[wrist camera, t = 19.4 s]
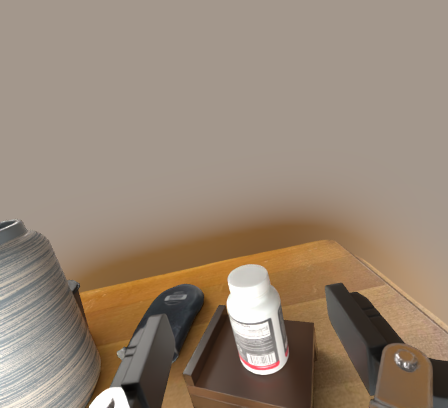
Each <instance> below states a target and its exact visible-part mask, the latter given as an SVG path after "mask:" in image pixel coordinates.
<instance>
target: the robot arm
mask: <svg viewBox="0 0 448 408" xmlns="http://www.w3.org/2000/svg"><path fill="white" fill-rule="evenodd" d="M325 293H326V301H327V309H328V315H329V318H330V321H331V324H332V326H333V328H334V330H335V332H336V333H337V335H338V337H339V339H340V341H341V343H342V344H343V346H344V348H345V350H346V352H347V354H348V356H349V357H350V359H351V361H352V363H353V365H354V367H355V369H356V370H357V372H358V374H359V376H360V378H361V380H362V382H363V383H364V385H365V387H366V389H367V391H368V393H369V394H370V396H372V395H374V399H371V401H370V404H369V408H448V361H442V360H435V359H431V358H428V357H427V356H426V355H425V354H424V353H422V352H421V351H420V350H418V349H416V348H414V347H412V346H410V345H407V344H405V343H404V342H403V340H402V339H401V338H400V337H399V336H398V334H397V333H396V332H395V331H394V330H393V329H392V327H391V326H390V325H389V324H388V323H387V321H386V320H385V319H384V318H383V317H382V316H381V315H380V313H379V312H378V311H377V309H376V308H374V306H373V305H372V303H371V302H370V301H369V300H368V299H367V298H366V297H364V296H363V295H361V294H359V293H358V292H352V293H349V291H348V290H347V289H346V287H345V286H344V285H343V284H342V283H337V284H331V285H326V286H325ZM174 352H175V339H174V335H173V332H172V329H171V326H170V324H169V321H168V318H167V315H166V314H159V315H153V316H150V317H149V318H148V321H147V323H146V325H145V328H141V329H140V330H139V331H138V332H137V333H136V334H135V335H134V337H133V338H132V340H131V342H130V344H129V346H128V349H127V351H126V353H125V355H124V358H123V359H122V362H121V364H120V366H119V368H118V370H117V372H116V375H115V377H114V379H113V381H112V383H111V385H110V388H109V389H107V390H105V391H103V392H102V393H101V394H99V395H98V396H97V397H96V398H95V399H94V400H93V402H92V403H91V404H90V406H89V408H161V406H162V402H163V397H164V393H165V389H166V385H167V381H168V377H169V372H170V368H171V364H172V360H173V356H174Z"/></svg>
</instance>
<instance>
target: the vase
mask: <svg viewBox="0 0 448 408" xmlns="http://www.w3.org/2000/svg"><path fill="white" fill-rule="evenodd" d="M100 370H101V358H100V354H99V352H98V349H97V347H96V345H95V343H94V340H93V338H92V336H91V334H90V331H89V329H88V327H87V325H86V322H85V320H84V318H83V316H82V313H81V311H80V309H79V307H78V304H77V302H76V300H75V298H74V295H73V293H72V291H71V289H70V286H69V284H68V282H67V280H66V278H65V275H64V273H63V271H62V268H61V266H60V264H59V262H58V259H57V257H56V255H55V253H54V251H53V248H52V246H51V244H50V242H49V240H48V239H47V238H46V237H45V236H44V235H42V234H40V233H39V232H36V231H33V230H27V229H26V228H25V225H24V223H23V222H22V220H18V219H14V220H7V221H2V222H0V408H85V407H86V405H87V404H88V402H89V400H90V399H91V397H92V394H93V392H94V389H95V386H96V383H97V381H98V378H99V374H100Z"/></svg>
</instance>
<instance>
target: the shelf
mask: <svg viewBox="0 0 448 408" xmlns="http://www.w3.org/2000/svg"><path fill="white" fill-rule="evenodd" d="M284 325H285V330H286V336H287V341H288V347H289V357H288V359H287V361H286V363H285V365H284V366H283V367H282V368H281V369H280V370H279V371H277V372H275V373H272V374H267V375H260V374H255V373H253V372H251V371H249V370H248V369H246V368H245V366H244V365H243V363H242V362H241V359H240V356H239V353H238V349H237V345H236V342H235V338H234V333H233V329H232V325H231V321H230V317H229V315H228V313H227V309H226V306H225V305H219V306H218V308H217V310H216V312H215V313H214V315H213V317H212V319H211V321H210V323H209V325H208V327H207V329H206V330H205V332H204V334H203V336H202V338H201V340H200V342H199V344H198V346H197V347H196V349H195V351H194V353H193V355H192V357H191V359H190V361H189V363H188V364H187V366H186V368H185V370H184V372H183V376H184V379H185V382H186V385H187V388H188V391H189V394H190V397H191V400H192V403H193V406H194V408H313V380H314V360H317V342H316V335H315V328H314V323H310V322H300V321H289V320H284Z"/></svg>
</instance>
